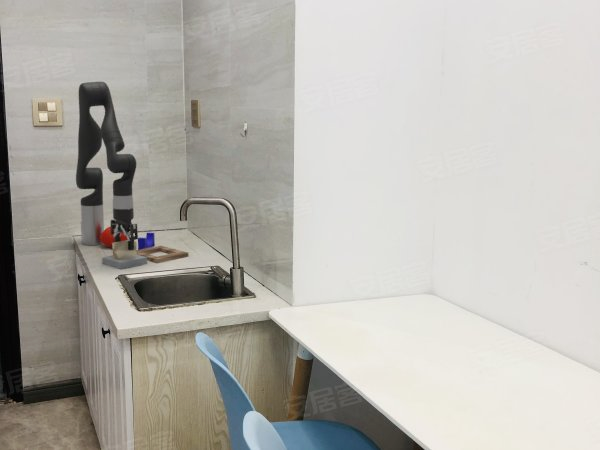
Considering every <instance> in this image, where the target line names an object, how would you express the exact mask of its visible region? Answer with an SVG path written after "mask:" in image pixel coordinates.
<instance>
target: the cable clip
mask: <svg viewBox="0 0 600 450" xmlns="http://www.w3.org/2000/svg"><path fill="white" fill-rule="evenodd" d="M145 234H146V235H145V236H146V237H138V239H137V250H140V249H146V248H151V247H156V246H155V244H156V243H155V232H146V233H145Z"/></svg>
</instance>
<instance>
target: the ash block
mask: <svg viewBox="0 0 600 450" xmlns="http://www.w3.org/2000/svg"><path fill="white" fill-rule="evenodd" d="M111 248H112V255H113V258H114V259H117V260H122V259H127V258H132V257H137V252H136V250H137V241H136V240H134V250H128V240H126V241H121V242H115V243H112V247H111Z"/></svg>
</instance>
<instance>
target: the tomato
mask: <svg viewBox="0 0 600 450" xmlns="http://www.w3.org/2000/svg"><path fill="white" fill-rule="evenodd" d="M114 230H115V229H113V231H114ZM129 236H130V235H129ZM119 237H121V241H126V240H128V239H127V237H126V236H125V235H124V234H123V233H121V235H120V236H119ZM130 237H131V236H130ZM100 241H101V242H102V243H103V245H104V246H106V247H108V248H112V243H115V238H114V236H113V235H111V226H107V227H106V228H104V231H103V232H102V233H101V236H100Z"/></svg>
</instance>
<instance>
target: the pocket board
mask: <svg viewBox="0 0 600 450" xmlns="http://www.w3.org/2000/svg"><path fill="white" fill-rule="evenodd" d="M136 252H137V255H140V256H144V257H147V262H151V263H155V264H159V263H164V262H167V261H168V262H169V261H173V260H178V259H183V258H186V257H189V252H187V251H183V250H180V249H176V248H171V247H167V246H164V245H157V246H154V247H151V248H146V249H140V250H138V249H136ZM155 253H164V254H163V255H152V254H155Z"/></svg>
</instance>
